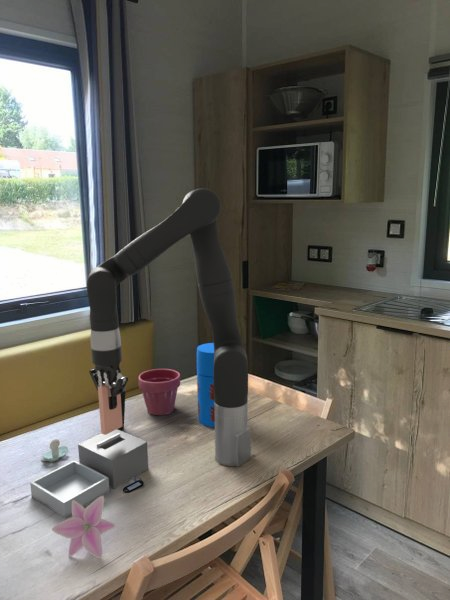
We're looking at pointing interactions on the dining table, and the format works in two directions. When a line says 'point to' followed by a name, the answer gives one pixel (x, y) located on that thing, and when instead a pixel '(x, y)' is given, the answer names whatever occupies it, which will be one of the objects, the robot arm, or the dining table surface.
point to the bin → (69, 487)
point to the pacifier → (55, 451)
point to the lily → (85, 527)
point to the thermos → (205, 384)
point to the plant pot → (159, 390)
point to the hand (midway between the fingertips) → (110, 407)
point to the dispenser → (115, 456)
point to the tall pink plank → (109, 412)
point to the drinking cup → (122, 408)
